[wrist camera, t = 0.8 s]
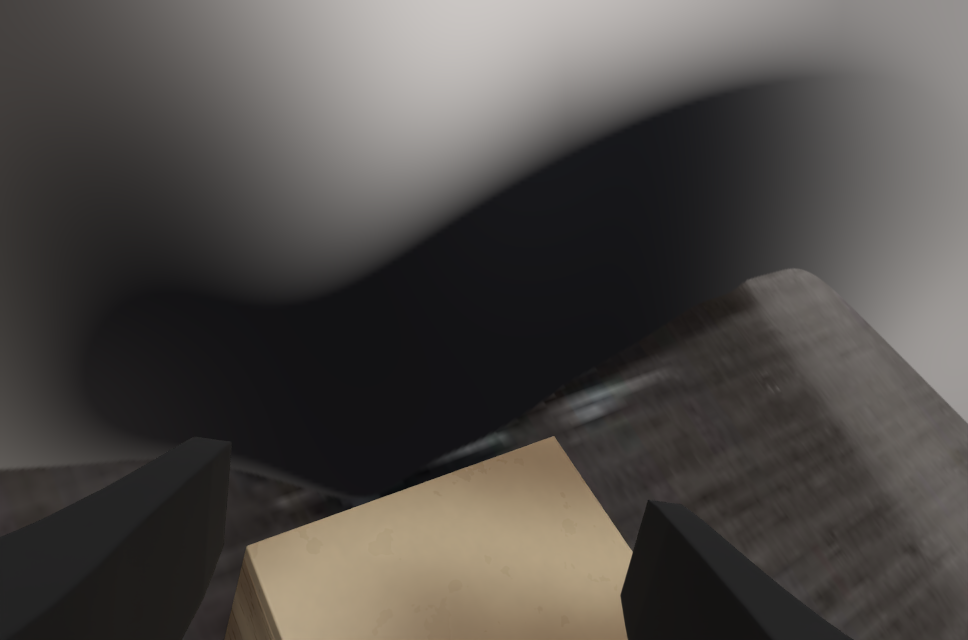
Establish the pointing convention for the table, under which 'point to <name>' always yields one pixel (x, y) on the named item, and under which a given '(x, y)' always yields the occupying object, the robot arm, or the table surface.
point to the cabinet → (447, 562)
